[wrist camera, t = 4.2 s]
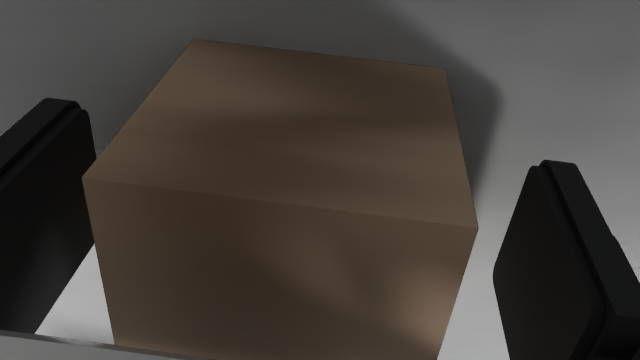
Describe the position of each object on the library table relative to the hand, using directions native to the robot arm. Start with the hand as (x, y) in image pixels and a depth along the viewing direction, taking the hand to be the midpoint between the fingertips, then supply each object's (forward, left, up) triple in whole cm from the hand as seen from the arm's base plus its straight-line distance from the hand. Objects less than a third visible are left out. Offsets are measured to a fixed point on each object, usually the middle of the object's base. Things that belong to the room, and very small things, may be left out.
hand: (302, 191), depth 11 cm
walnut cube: (0, 0, -1) cm, 1 cm away
